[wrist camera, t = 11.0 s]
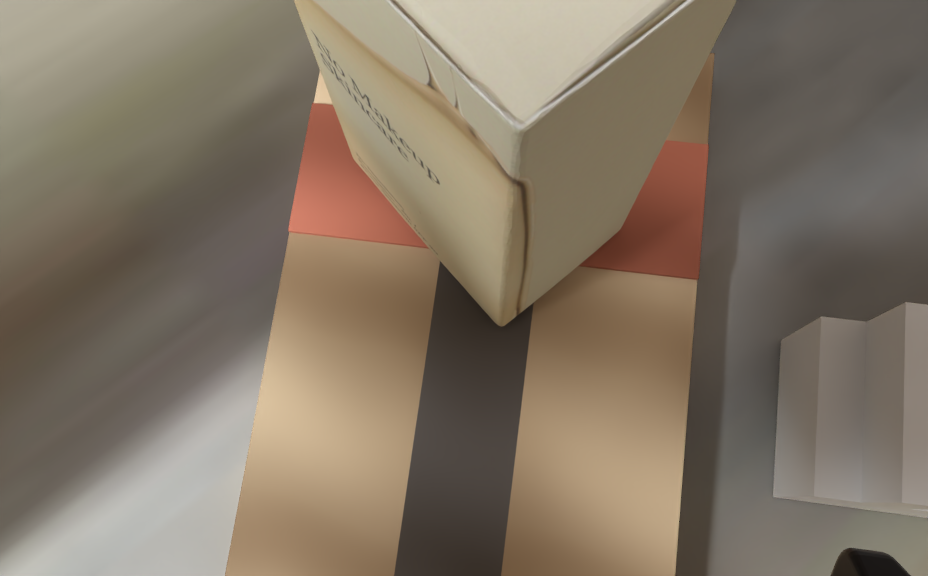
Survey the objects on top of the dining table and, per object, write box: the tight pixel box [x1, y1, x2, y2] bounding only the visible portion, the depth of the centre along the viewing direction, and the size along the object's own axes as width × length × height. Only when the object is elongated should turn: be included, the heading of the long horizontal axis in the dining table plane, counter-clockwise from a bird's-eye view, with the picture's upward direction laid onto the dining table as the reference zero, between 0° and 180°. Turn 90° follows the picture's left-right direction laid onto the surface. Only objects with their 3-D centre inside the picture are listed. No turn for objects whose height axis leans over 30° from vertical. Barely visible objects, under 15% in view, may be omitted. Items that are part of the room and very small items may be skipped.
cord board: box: [225, 53, 715, 576], centre depth 22 cm, size 17×10×1 cm, turn 172°
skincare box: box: [294, 0, 737, 327], centre depth 17 cm, size 6×4×12 cm
